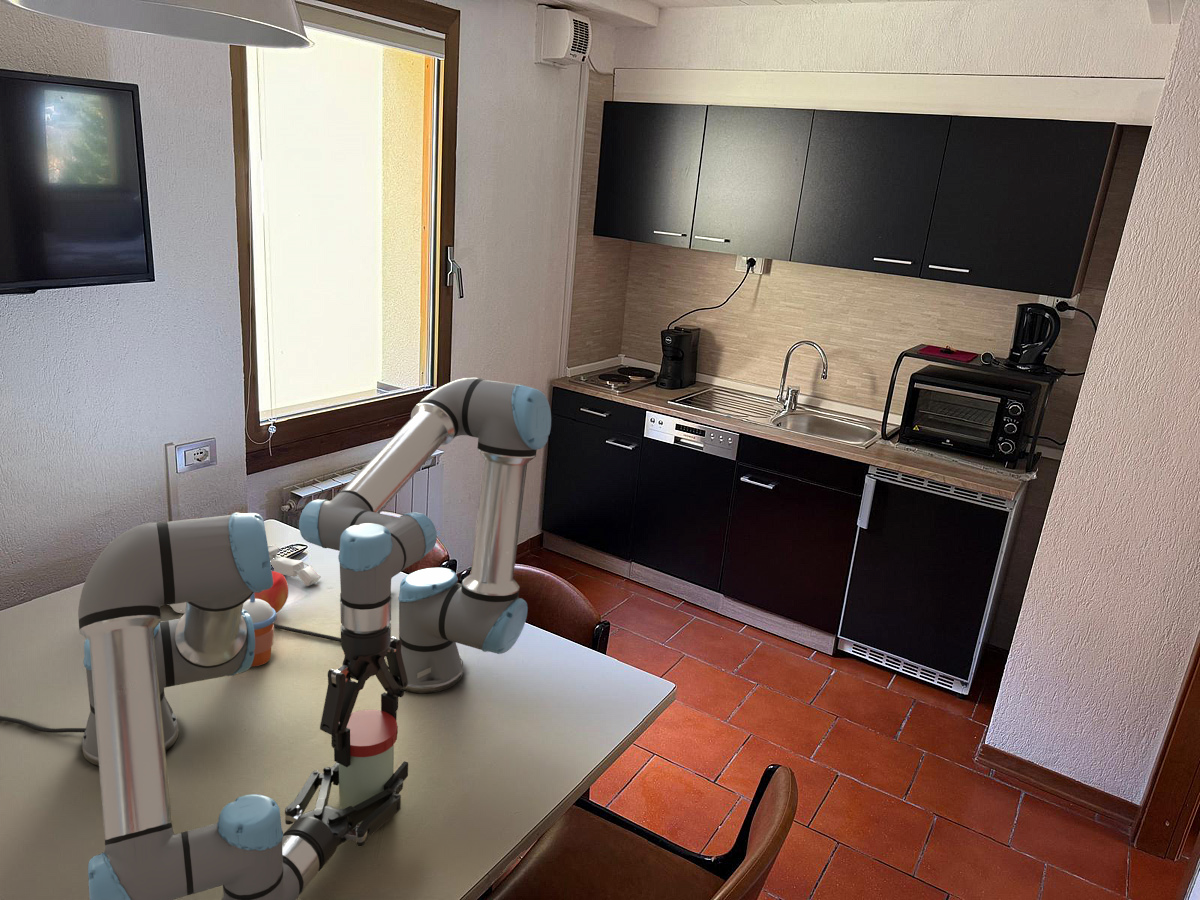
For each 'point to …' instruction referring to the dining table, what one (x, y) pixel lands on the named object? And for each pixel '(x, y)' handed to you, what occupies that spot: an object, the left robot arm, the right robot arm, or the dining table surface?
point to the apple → (275, 592)
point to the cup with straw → (261, 628)
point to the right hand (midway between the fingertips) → (366, 745)
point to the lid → (371, 732)
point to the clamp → (292, 567)
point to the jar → (364, 778)
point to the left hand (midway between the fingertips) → (381, 761)
